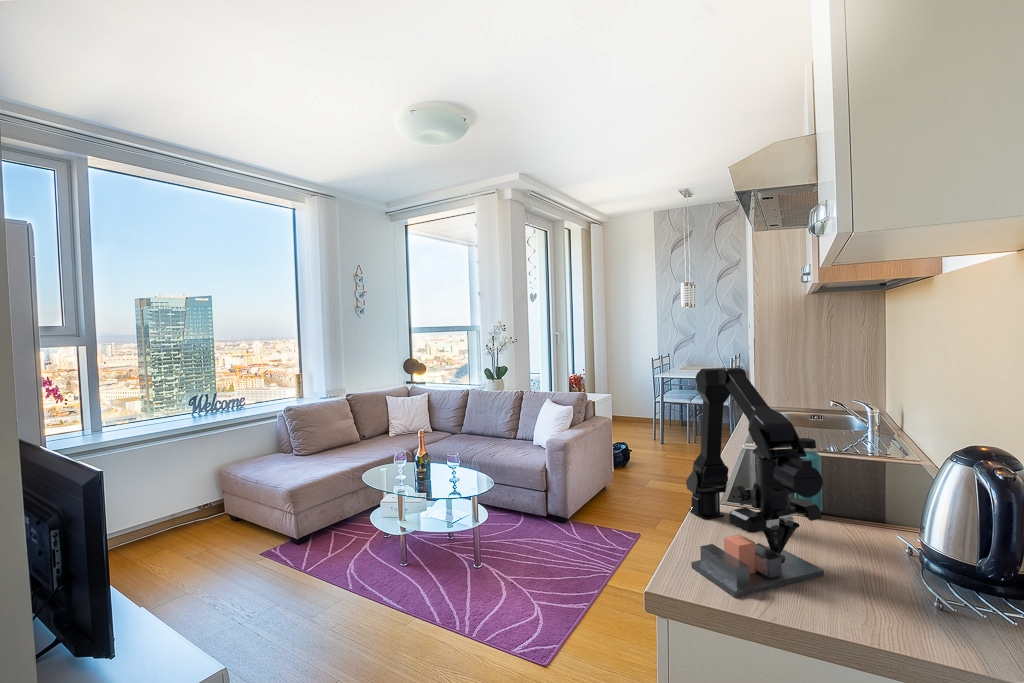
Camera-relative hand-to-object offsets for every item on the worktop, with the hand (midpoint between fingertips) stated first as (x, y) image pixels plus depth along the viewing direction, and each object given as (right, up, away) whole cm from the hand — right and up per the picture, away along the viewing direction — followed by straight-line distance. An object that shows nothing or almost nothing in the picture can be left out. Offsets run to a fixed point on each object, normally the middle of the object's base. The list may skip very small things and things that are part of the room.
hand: (775, 555), depth 99 cm
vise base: (-5, -3, -1) cm, 6 cm away
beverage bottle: (+23, -1, +27) cm, 36 cm away
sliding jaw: (-4, -1, -1) cm, 4 cm away
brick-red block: (-9, -2, -3) cm, 9 cm away
